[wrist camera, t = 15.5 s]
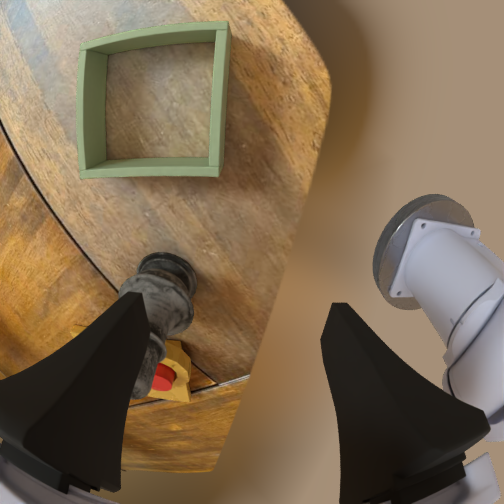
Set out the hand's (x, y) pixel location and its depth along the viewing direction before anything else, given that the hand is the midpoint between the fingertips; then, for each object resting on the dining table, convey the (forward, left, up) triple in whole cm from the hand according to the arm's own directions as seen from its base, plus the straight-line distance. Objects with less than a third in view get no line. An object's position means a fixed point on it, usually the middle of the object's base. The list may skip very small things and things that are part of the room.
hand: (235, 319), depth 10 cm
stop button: (+7, +15, -8) cm, 19 cm away
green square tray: (+6, -8, -10) cm, 14 cm away
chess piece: (+6, +6, -11) cm, 14 cm away
